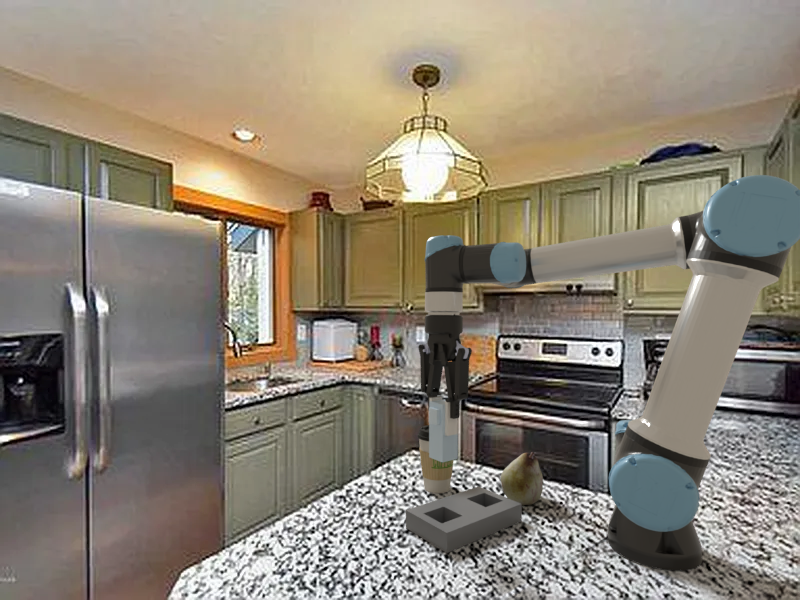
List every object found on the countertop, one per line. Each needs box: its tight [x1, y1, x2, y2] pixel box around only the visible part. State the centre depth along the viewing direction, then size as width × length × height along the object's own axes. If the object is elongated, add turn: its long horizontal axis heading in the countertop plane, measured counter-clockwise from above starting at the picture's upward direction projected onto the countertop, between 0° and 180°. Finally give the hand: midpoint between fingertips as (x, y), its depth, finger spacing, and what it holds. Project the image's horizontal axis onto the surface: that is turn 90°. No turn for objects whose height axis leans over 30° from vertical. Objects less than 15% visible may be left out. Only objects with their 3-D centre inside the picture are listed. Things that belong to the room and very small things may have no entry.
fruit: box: [500, 451, 544, 506], centre depth 104 cm, size 10×9×12 cm
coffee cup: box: [416, 424, 454, 494], centre depth 111 cm, size 10×10×15 cm
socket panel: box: [405, 486, 523, 554], centre depth 92 cm, size 12×21×4 cm, turn 127°
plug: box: [428, 398, 459, 463], centre depth 89 cm, size 4×5×11 cm
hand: (443, 431), depth 89 cm, fingers closed on plug, 4 cm apart
